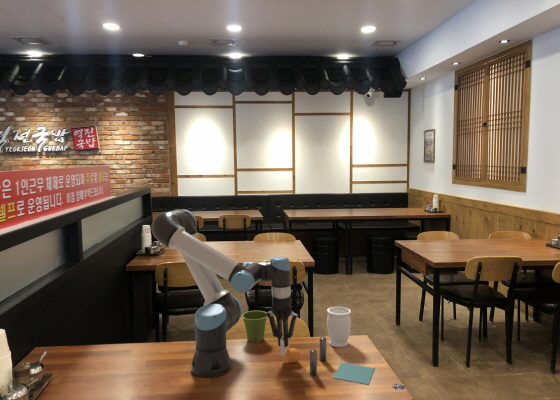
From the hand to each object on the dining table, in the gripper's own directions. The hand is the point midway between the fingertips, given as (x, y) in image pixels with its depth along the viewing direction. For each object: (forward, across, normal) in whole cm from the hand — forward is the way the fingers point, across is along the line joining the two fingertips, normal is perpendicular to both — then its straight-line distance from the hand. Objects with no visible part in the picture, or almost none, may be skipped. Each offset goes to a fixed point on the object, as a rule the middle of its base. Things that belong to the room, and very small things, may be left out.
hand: (283, 353), depth 170 cm
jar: (+4, +16, +24) cm, 29 cm away
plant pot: (+2, -20, +15) cm, 25 cm away
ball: (0, +4, 0) cm, 4 cm away
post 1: (+3, +14, -7) cm, 16 cm away
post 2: (+3, +14, +6) cm, 16 cm away
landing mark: (+4, +28, 0) cm, 29 cm away
